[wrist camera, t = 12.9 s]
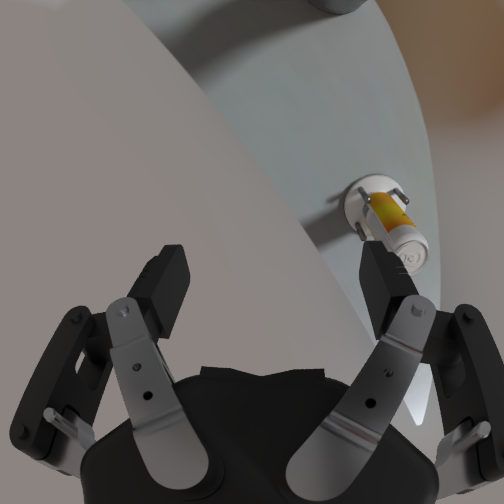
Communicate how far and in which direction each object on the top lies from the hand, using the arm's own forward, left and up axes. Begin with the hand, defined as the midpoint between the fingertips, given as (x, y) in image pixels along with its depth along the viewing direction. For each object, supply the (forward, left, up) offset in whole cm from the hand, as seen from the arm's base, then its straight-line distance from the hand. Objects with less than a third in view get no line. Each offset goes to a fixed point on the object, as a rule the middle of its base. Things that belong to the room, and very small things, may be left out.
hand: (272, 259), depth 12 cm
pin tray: (+12, +16, -32) cm, 38 cm away
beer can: (+12, +16, -31) cm, 37 cm away
